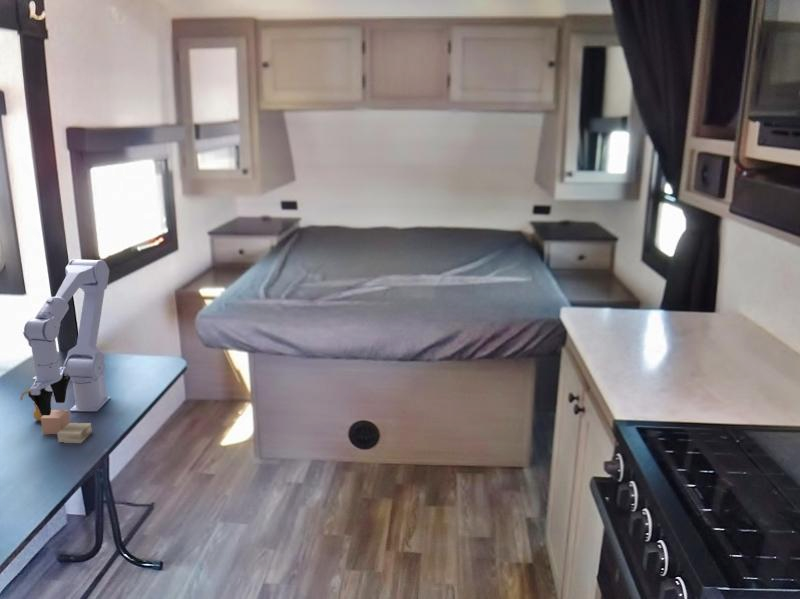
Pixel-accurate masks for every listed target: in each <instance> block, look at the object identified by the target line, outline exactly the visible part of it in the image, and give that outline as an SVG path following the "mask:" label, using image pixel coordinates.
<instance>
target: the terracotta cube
mask: <svg viewBox="0 0 800 599" xmlns="http://www.w3.org/2000/svg"><path fill="white" fill-rule="evenodd" d="M69 411H70V410H69V409H51V414H50V415H44V416H42V417H41V421H40V423H41V428H42V429H41V431H42V434H43V435H49V434H57V433H58V432H59V431H60V430H62V429H63V428H64V427H65V426H66V425H67V424H68V423H71V418H70V412H69Z"/></svg>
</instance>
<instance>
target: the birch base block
mask: <svg viewBox="0 0 800 599" xmlns="http://www.w3.org/2000/svg"><path fill="white" fill-rule="evenodd" d="M92 429H93V428H92V422H89V423H88V422H70V423H68V424H67V425H66V426H65V427H64V428H63V429H62V430H60V431H59V432H58V433H57V441H58V443H59V442H64V443H67V444H82V443H83V441H85V440H86V439H87V438H88V437H89V436H90V435H91V434H92V433H93V430H92Z"/></svg>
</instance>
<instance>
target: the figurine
mask: <svg viewBox="0 0 800 599" xmlns="http://www.w3.org/2000/svg"><path fill="white" fill-rule="evenodd" d="M30 391H31V390H30V389H27V390H25V391H24V392H22V393H21V396H20V398H19V399H20V400H19V401H20V402H22V401H23V397H24V395H26V394H28V393H29V392H30ZM52 397H53V398H54V394H52ZM33 405H34V407H35V409H34V410H33V411H32V417H33V418H34V419H35V420H36V421H40V422H41V417H42V416H44V415H41V413H40V411H39V409H38V407H37V405H36V403H35V402H34V401H33Z"/></svg>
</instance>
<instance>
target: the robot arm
mask: <svg viewBox="0 0 800 599" xmlns="http://www.w3.org/2000/svg"><path fill="white" fill-rule="evenodd" d="M109 275H110V269H109V266H108V264H107V263H106V261H105V260H103V259H98V260H97V259H96V260H95V259H77V258H72V259H70V260H69V261H68V264H67V265H66V266H65V278H64V279H63V281H62V283H61V285H60V286H59V288H58V290H57V292H56V294H55V296H50V297H48V298H47V300H45V303H44V304H43V305H42V307H41V308H40V310H39V311H38V313H37V314H36V316H35V317H34V318H31V319H29V320H28V321H27V322H26V323H25V324H24V327H23V329H24V330H23V332H22V333H23V337H24V338H25V339H26V340H27V343H28V346H29V347H31V353H32V359H33V360H32V361H33V365H34V371H35V372H34V373H35V376H33V377H32V382H33V383H32V386H31V387H30V390H31V391H30V392H29V393H27V394H28V397H29V398H30V399H31V401H33V403H34V402H35V403H36V406H37V407H38V409H39V411H40V413H41V415H50V414H51V410H52V404H51V402H52V397H53V396H54V397H53V398H54V401H55V402H56V404H64V403H65V401H66V397H67V390H68V385H69V384H70V383H69V382H70V381H71V382H72V388H73V396H74V401H75V402H74V403H75V405H73V407H71V408H70V409H69V411H70V412H98V411H99V410H100V409H101V408H102V407H103V406H104V405H105V404H106V403H107V402H108V401H109V400H110V399H111V396H108V392H107V385H106V379H105V377H104V375H103V374H104V371H105V367H106V366H105V353H104V352H102V351H101V349H99V347H97V343H98V337H99V330H100V326H101V325H100V323H101V317H102V310H103V302H104V297H105V290H107V289H108V284H109V283H108V282H109V277H110V276H109ZM79 289H81V290H82V291H83V294H84V295H83V302H82V307H81V314H80V315H81V316H80V320H79V321H80V322H79V328H78V335H77V340H76V345H75V346H74V347H72V348H70V349H69V350H68V351H67V355H66V359H65V360H64V362H63V366H60V362H59V358H58V357H59V356H58V350H57V349H58V348H57V343H56V339H57V337H58V336H59V333H60V327H61V321H62V320H63V318H64V317H65V315H66V314H67V312H68V311H69V309H70V307H69V306H70V305H69V303H68V302H70V300H71V299H72V298H73V296H74V295H75V294H76V293H77V291H78V290H79ZM47 387H50V388H51V391H49V390H47V389H46V388H47ZM52 395H53V396H52Z"/></svg>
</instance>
